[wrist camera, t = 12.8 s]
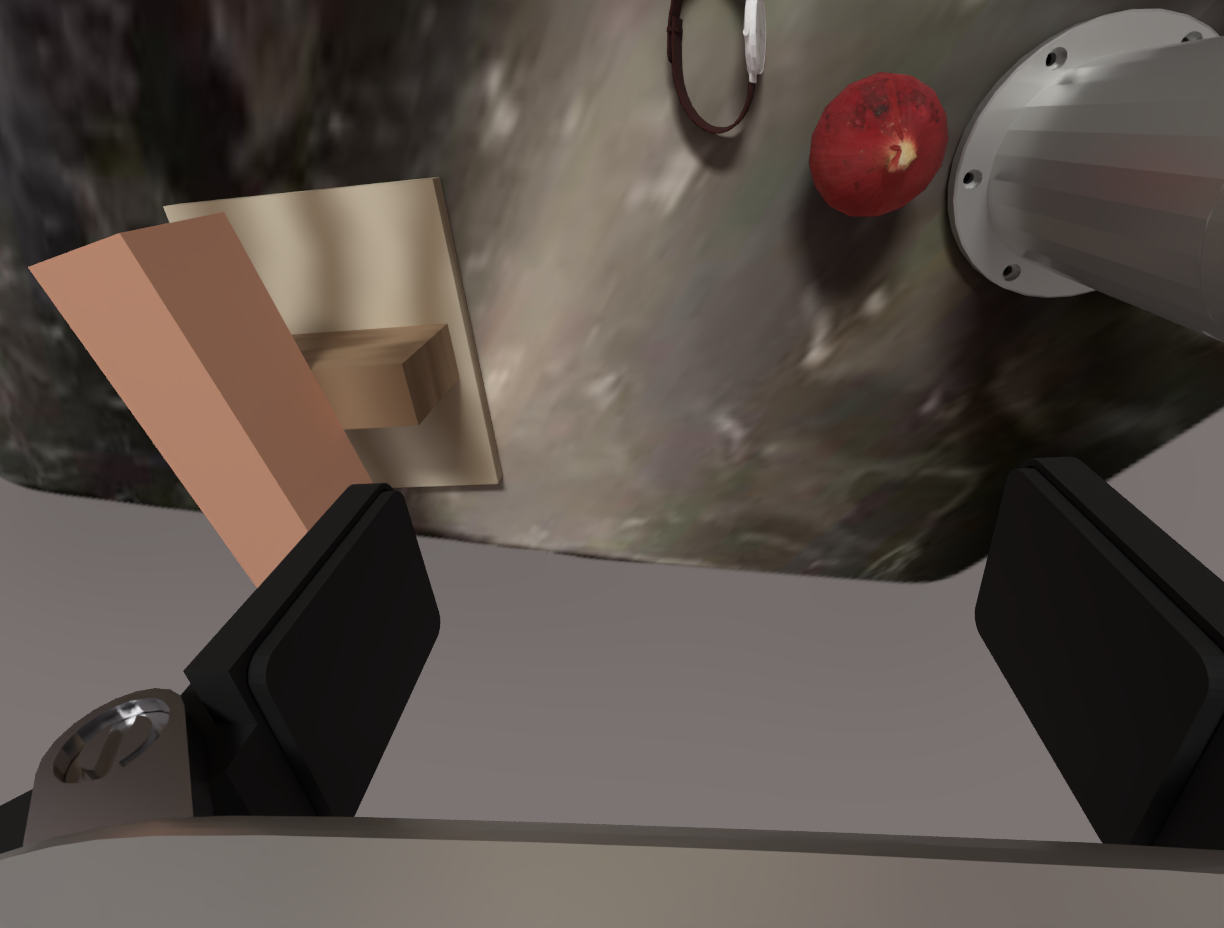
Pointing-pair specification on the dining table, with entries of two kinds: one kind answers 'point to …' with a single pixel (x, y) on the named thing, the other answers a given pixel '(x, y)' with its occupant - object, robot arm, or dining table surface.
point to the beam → (210, 378)
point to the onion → (878, 144)
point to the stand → (376, 321)
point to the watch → (753, 53)
